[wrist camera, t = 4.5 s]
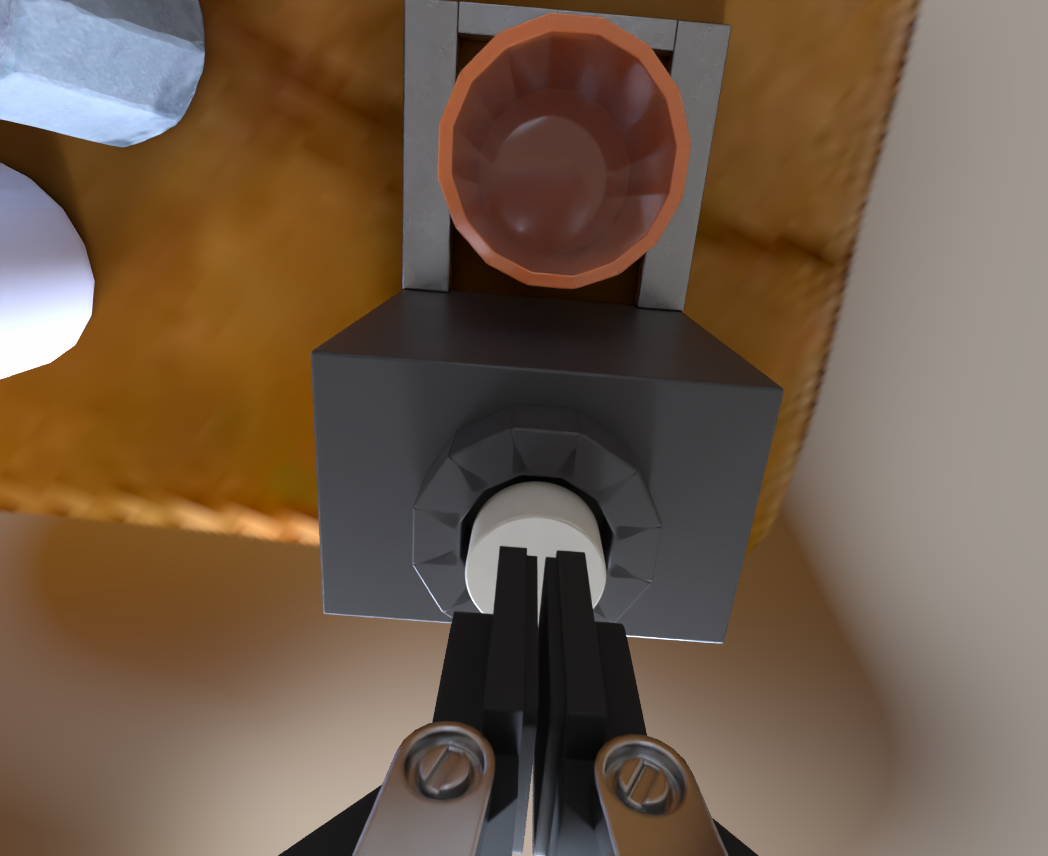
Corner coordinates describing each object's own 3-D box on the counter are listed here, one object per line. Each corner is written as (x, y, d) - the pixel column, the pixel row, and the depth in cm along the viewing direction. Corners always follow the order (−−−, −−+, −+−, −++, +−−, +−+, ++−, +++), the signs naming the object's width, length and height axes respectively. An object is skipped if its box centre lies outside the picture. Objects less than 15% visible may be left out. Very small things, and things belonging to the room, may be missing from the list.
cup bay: (408, 3, 23) (403, -5, 22) (724, 31, 23) (732, 23, 22) (406, 286, 27) (401, 289, 26) (678, 308, 27) (683, 312, 26)
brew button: (475, 475, 15) (467, 509, 13) (606, 485, 15) (615, 520, 13) (469, 586, 16) (461, 630, 14) (591, 595, 16) (597, 640, 14)
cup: (475, 73, 24) (441, 2, 15) (648, 87, 24) (710, 25, 15) (467, 253, 26) (434, 278, 18) (624, 266, 26) (667, 297, 18)
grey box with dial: (406, 286, 27) (281, 369, 13) (678, 308, 27) (817, 411, 14) (404, 454, 29) (299, 658, 16) (651, 473, 30) (744, 690, 16)
